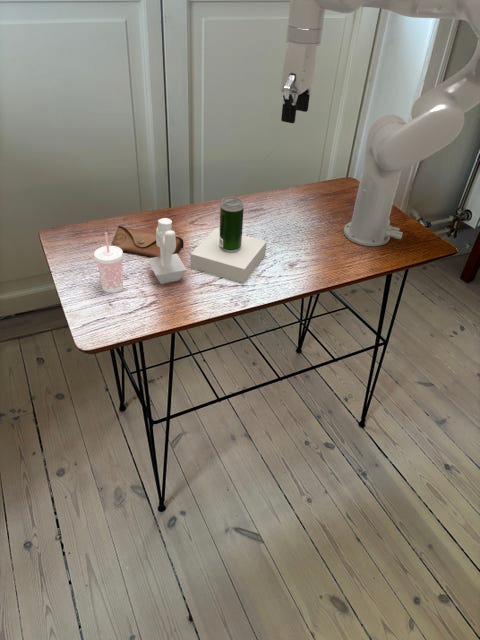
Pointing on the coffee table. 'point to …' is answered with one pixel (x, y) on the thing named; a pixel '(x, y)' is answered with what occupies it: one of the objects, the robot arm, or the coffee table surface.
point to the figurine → (166, 254)
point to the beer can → (231, 224)
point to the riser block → (228, 257)
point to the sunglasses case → (140, 242)
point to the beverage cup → (110, 266)
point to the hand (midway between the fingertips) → (294, 116)
